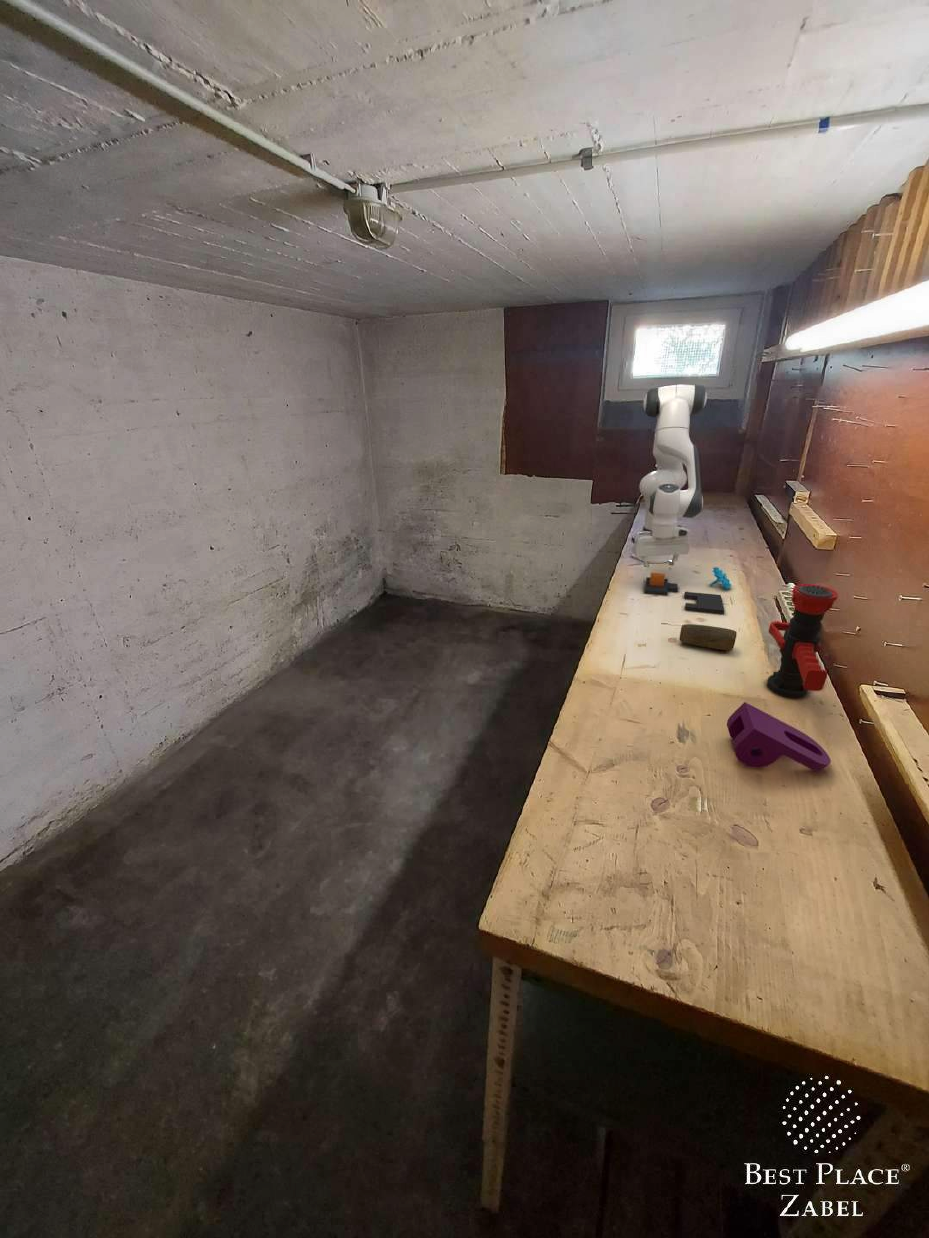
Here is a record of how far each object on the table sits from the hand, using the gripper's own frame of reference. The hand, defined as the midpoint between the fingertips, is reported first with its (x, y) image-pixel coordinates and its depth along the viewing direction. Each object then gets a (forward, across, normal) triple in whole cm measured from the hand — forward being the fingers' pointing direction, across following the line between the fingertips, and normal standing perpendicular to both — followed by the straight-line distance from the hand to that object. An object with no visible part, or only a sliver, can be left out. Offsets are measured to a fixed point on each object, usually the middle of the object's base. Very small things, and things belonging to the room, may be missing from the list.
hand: (658, 565), depth 183 cm
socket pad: (+9, +11, -17) cm, 22 cm away
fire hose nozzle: (+10, +8, -71) cm, 73 cm away
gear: (+9, +24, -2) cm, 26 cm away
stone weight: (+10, -2, -46) cm, 47 cm away
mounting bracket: (+10, -8, -94) cm, 95 cm away
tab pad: (+9, +2, 0) cm, 9 cm away
